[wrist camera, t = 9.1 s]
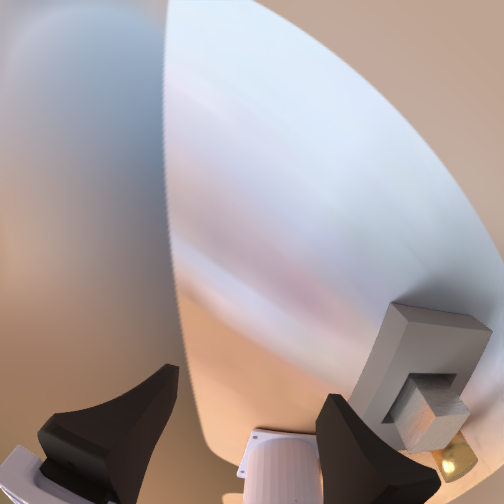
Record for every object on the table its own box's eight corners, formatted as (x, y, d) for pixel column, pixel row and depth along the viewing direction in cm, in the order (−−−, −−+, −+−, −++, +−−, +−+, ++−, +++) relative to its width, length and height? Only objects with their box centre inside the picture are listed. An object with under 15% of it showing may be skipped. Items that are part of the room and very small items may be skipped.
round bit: (443, 443, 25) (462, 478, 18) (420, 447, 25) (438, 485, 18) (461, 419, 24) (484, 454, 17) (437, 423, 24) (460, 462, 17)
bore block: (413, 426, 24) (423, 447, 20) (334, 428, 24) (339, 453, 20) (472, 315, 21) (492, 331, 17) (390, 302, 21) (408, 321, 17)
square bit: (416, 400, 22) (444, 448, 15) (383, 400, 22) (408, 453, 15) (435, 366, 21) (471, 412, 14) (402, 365, 21) (435, 416, 14)
